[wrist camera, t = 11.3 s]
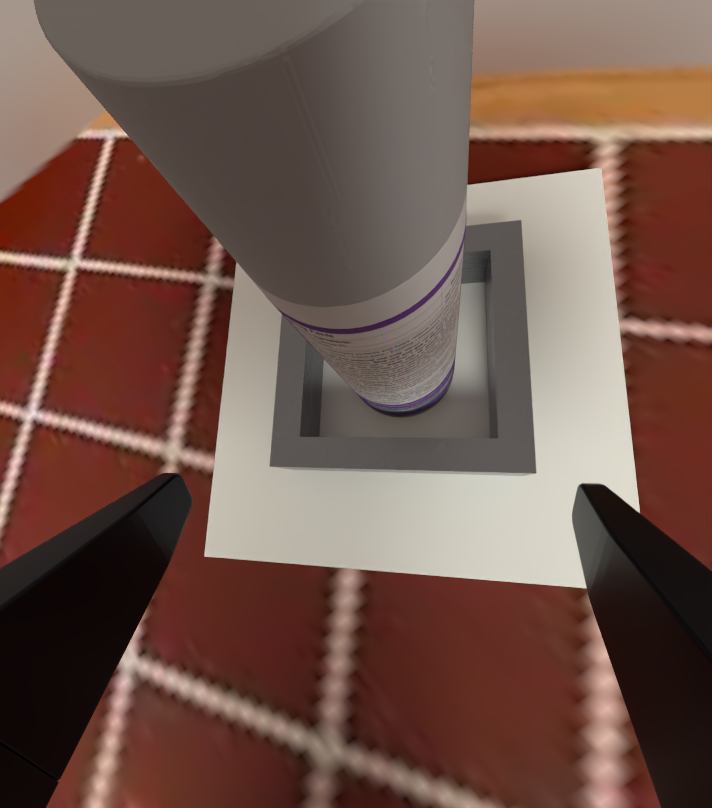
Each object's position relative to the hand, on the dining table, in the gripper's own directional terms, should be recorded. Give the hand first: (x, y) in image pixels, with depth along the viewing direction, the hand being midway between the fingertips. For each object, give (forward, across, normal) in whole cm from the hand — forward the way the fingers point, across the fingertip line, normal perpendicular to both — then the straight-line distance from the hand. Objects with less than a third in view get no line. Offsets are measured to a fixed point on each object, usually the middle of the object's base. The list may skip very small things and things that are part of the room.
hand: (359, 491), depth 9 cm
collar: (+11, 0, +2) cm, 11 cm away
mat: (+11, 0, +2) cm, 11 cm away
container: (+10, 0, +2) cm, 10 cm away
